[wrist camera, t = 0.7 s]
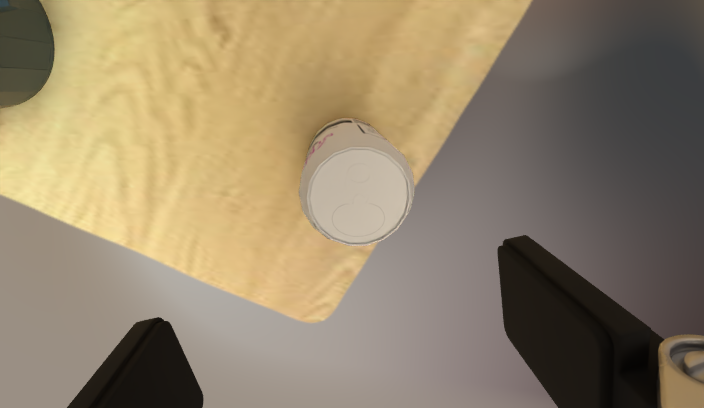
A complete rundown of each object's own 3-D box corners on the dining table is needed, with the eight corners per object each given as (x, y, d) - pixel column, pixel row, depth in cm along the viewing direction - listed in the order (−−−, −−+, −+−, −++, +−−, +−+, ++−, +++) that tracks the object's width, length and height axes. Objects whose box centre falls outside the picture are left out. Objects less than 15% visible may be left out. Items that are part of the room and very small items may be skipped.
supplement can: (383, 193, 39) (415, 252, 25) (308, 193, 39) (298, 254, 25) (387, 118, 37) (425, 137, 23) (307, 117, 36) (295, 136, 22)
